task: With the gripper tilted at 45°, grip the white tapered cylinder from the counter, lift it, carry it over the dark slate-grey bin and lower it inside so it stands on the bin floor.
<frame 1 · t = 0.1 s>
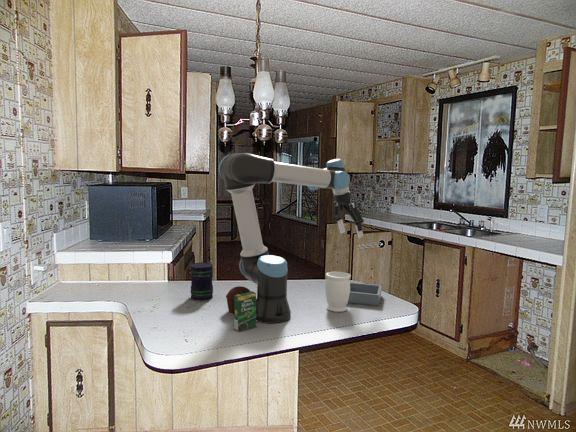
hand: (351, 235, 194), 28 cm above the worktop, tool tilted 20°, fingers open, 13 cm apart
white tapered cylinder: (336, 309, 173), on the worktop
bin: (361, 298, 187), on the worktop
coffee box: (245, 329, 149), on the worktop
muffin: (239, 312, 167), on the worktop
storage jar: (201, 298, 184), on the worktop
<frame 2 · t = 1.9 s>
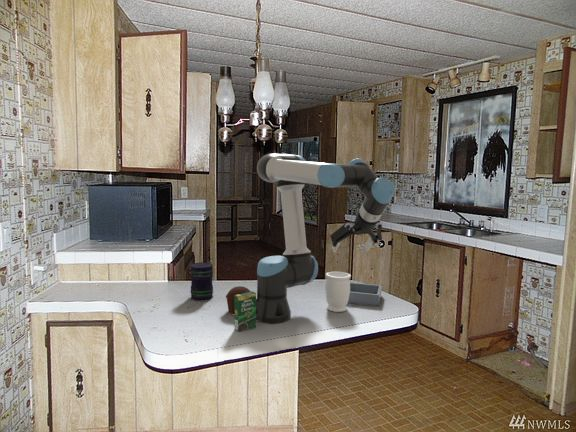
hand: (349, 249, 159), 28 cm above the worktop, tool tilted 45°, fingers open, 13 cm apart
nothing on the worktop moved.
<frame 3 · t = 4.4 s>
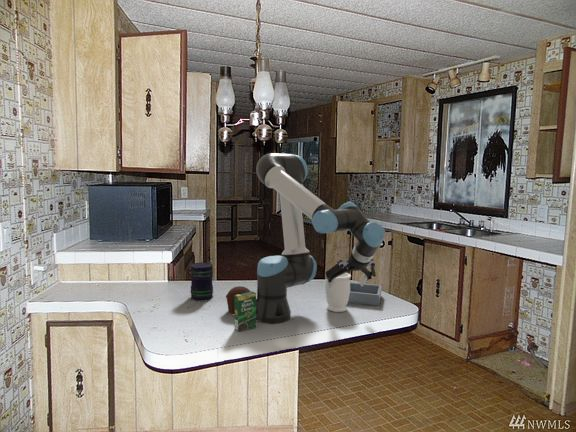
hand: (345, 284, 166), 12 cm above the worktop, tool tilted 45°, fingers open, 13 cm apart
nothing on the worktop moved.
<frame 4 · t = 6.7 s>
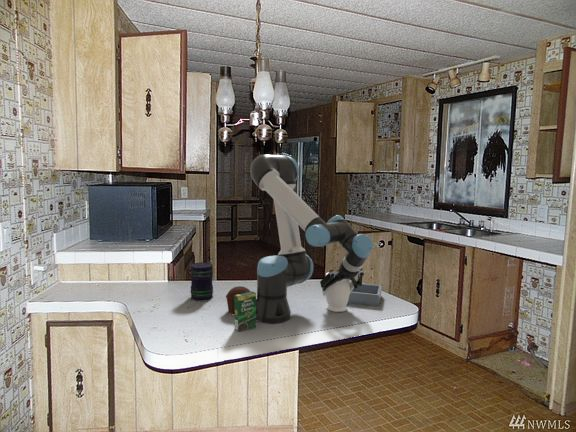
hand: (335, 292, 174), 7 cm above the worktop, tool tilted 45°, fingers closed on white tapered cylinder, 10 cm apart
white tapered cylinder: (336, 309, 173), on the worktop, touching gripper
everything else where it was.
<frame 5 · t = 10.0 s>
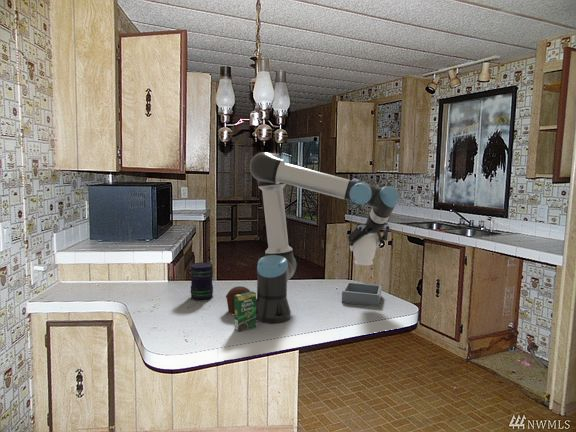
hand: (362, 248, 185), 23 cm above the worktop, tool tilted 45°, fingers closed on white tapered cylinder, 10 cm apart
white tapered cylinder: (363, 264, 184), point 17 cm above the worktop, touching gripper
everything else where it was.
when the fingers open (9 cm above the worktop, at t = 13.4 s): white tapered cylinder drops 2 cm, resting on bin.
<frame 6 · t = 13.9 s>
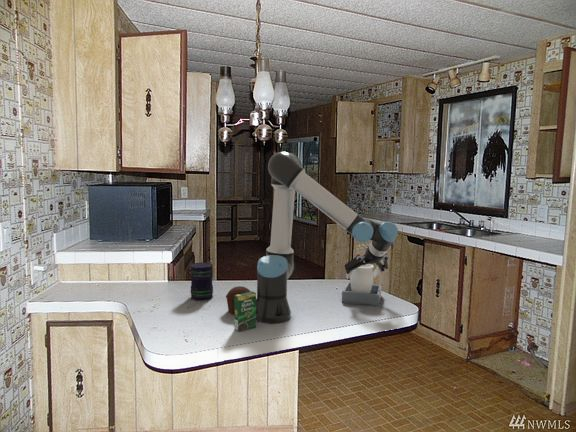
hand: (360, 275, 188), 10 cm above the worktop, tool tilted 45°, fingers open, 13 cm apart
white tapered cylinder: (360, 297, 188), resting on bin
everything else where it was.
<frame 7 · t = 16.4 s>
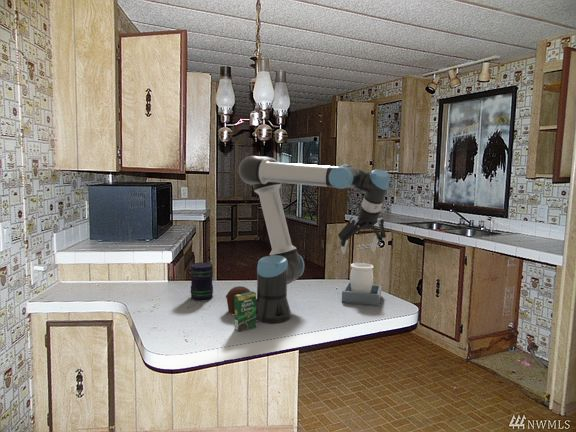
hand: (357, 250, 170), 25 cm above the worktop, tool tilted 30°, fingers open, 13 cm apart
nothing on the worktop moved.
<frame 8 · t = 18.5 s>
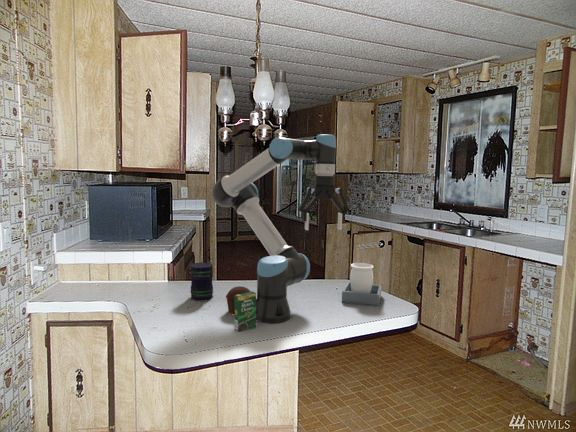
hand: (323, 229, 161), 35 cm above the worktop, tool pointing down, fingers open, 13 cm apart
nothing on the worktop moved.
at the end: white tapered cylinder inside the target area on the bin (0.8 cm from its centre), point 0.4 cm above the bin's base; white tapered cylinder tilted 0°; the gripper is holding nothing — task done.
